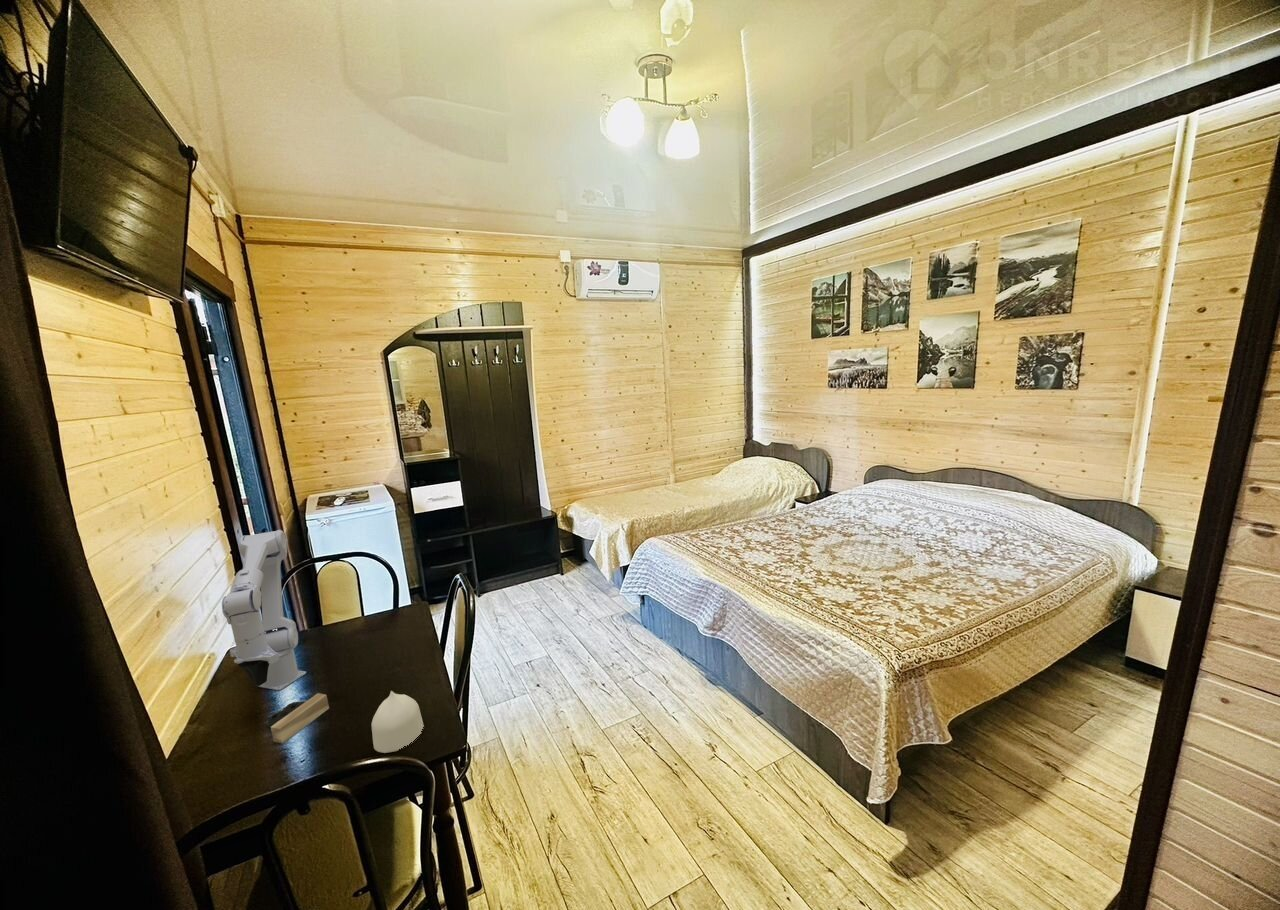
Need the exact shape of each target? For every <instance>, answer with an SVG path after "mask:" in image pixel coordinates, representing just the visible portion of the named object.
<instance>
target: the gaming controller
mask: <svg viewBox="0 0 1280 910" xmlns="http://www.w3.org/2000/svg"><path fill="white" fill-rule="evenodd" d="M305 702H306V701H294V702H291V703H289V704H287V705H286V706H285V707H283V708H281V709H280V710H278V711H277V712H276V713H274V714H272V715H271V716H270V717H269V719H268V721H267V724H268V726H269V727H270V728H271V726H273V725H274V724H276V723H277V722H278V721H280V720H281V719H283V718H284V717H285V716H287V715H288V714H290V713H291V712H292V711H294V710H295V709H296V708H298V707H299V706H301V705H302V704H303V703H305Z"/></svg>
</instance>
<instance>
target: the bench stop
mask: <svg viewBox="0 0 1280 910" xmlns="http://www.w3.org/2000/svg"><path fill="white" fill-rule="evenodd" d="M329 709H330V706H329V699H328V697H327V694H324V693H318V692H317V693H316V694H315V695H313V696H312V697H311V698H309V699H308V700H306V701H305V703H303V704H302V705H301V706H299V707H298V708H296V709H295V710H294V711H292V712H291V713H290V714H288V715H287V716H285V717H284V718H283V719H281V720H280V721H278V722H277V723H276V724H274V725H273V726H271V727H270V732H271V734H272V740H273V742H275V743H279V744H282V745H283V744H285V743H286V742H287V741H289V740H290V739H291V738H292V737H294V736H295V735H296V734H297V733H299V732H300V731H302V730H303V729H304V728H306V727H308V726H309V725H310V724H311V723H312V722H314V720H316V719H317V718H319V717H320V716H321V715H323V714H324V713H325V712H326V711H328V710H329Z"/></svg>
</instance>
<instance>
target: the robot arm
mask: <svg viewBox="0 0 1280 910" xmlns="http://www.w3.org/2000/svg"><path fill="white" fill-rule="evenodd" d="M238 550H239V553H240V555H241V556H242V557H243V558H244V559H243V565H242V569H240V570H239V571H238V572H236V574H235V576H234V578H233V579H234V580H233V582H232V585H231V588H230V592H229V593H228V594H226V595H225V596H223V597H222V601H221V609H222V614H223V616H224V618H225V619H226V621H227V624H228V625H230V628H231V631H232V635H233V638H234V639H233V640H234V642H235V647H232V648H231V649H229V654H230V657H231V658H235V659H234V660H233V662H234V664H237V666H238V668H239V669H241V671H244V672H245V674H246V675H247V676H248V678H249V679H250V681H251V683H252V684H253V685H254V686H255V687H259V688H264V689H270V690H275V691H281V690H282V689H284V688H286V687H288V686H289V685H290V684H292V683H294V682H295V681H297V680H298V679H300V678H302V677H303V676H304V675H306V674H307V671H306V670H305V671H304V670H299V669H298V664H297V659H296V655H295V650H294V649H295V648H296V647H297V646H298V643H299V633H298V629H297V624H296V622H295V621H294V620H293V619H290V618H287V617H285V616H284V609H283V607H284V606H283V593H282V576H281V564H282V561H283V560H285V559H286V558H287V557H288V543H287V536H286V534H285V532H284V531H283V530H282V529H277V530H275V531H274V530H272V531H267V532H261V533H257V534H256V533H255V534H249V535H242V536H241V537H240V539H239V540H238ZM260 609H261V611H260ZM261 615H262V616H261Z"/></svg>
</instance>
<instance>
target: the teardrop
mask: <svg viewBox="0 0 1280 910" xmlns="http://www.w3.org/2000/svg"><path fill="white" fill-rule="evenodd" d="M423 721H424V720H423V718H422V714H421V710H420V707H419V704H418V703H417V701H416V700H415V699H414V698H412V697H410V696H409V695H406V694H399V693H396V692H394V691H393V690H390V693H389V696H388V697H387V698H384V700H383V701H382V702H381V704H380V705H379V706H378V708H377V710H376V711H375V714H374V715H373V717H372V721H371V732H372V735H371V736H372V744H373V749H374V750H375V751H376V752H378V753H384V754H386V753H392V752H397V751H399V749H400V750H401V748H402V749H404V748H405V747H404V746H406V747H407V745H408V746H409V744H410V743H411V742H412V743H414V742H415V741H416V740H417V739H418V738H419V737H420V736H421V735H420V734H422V732H421V731H423V730H424V728H425V725H424V722H423ZM423 727H424V728H423ZM422 729H423V730H422ZM419 735H420V736H419ZM418 736H419V737H418ZM417 737H418V738H417ZM416 738H417V739H416ZM415 739H416V740H415ZM414 740H415V741H414ZM413 741H414V742H413ZM412 743H411V744H412ZM411 744H410V745H411ZM403 747H404V748H403Z"/></svg>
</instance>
